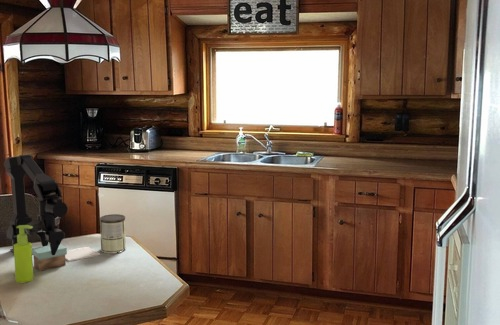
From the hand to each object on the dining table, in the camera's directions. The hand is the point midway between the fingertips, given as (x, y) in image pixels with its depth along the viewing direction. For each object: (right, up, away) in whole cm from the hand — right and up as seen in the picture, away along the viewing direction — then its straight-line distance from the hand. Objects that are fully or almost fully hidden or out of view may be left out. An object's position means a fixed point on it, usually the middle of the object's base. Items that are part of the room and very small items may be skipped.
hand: (49, 252), depth 212 cm
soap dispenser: (-3, -8, -14) cm, 16 cm away
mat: (+7, -3, +14) cm, 16 cm away
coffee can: (+20, -3, +21) cm, 29 cm away
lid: (0, 0, 0) cm, 0 cm away
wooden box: (0, -5, +1) cm, 5 cm away
